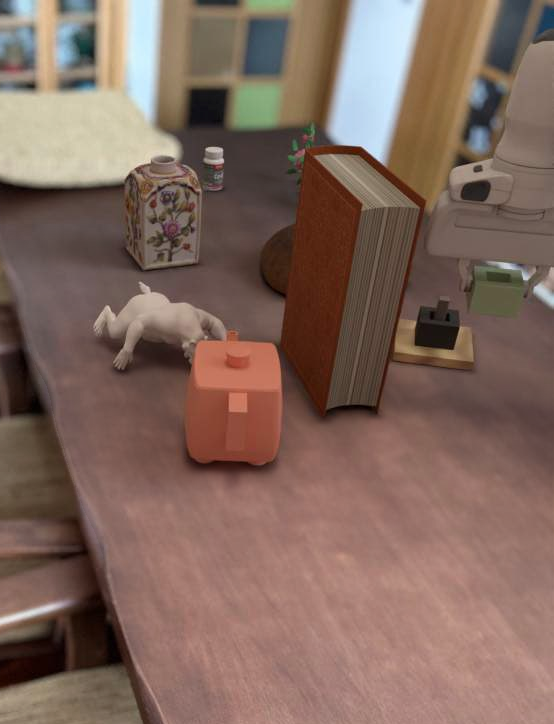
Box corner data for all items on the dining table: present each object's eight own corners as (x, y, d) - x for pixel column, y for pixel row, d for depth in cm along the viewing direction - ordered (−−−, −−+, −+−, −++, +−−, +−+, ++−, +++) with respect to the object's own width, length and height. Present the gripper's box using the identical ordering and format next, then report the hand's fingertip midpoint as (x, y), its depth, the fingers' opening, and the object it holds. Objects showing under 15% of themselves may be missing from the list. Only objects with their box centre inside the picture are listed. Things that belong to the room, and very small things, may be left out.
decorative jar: (179, 242, 165) (183, 146, 154) (200, 264, 157) (205, 165, 145) (122, 248, 163) (121, 152, 151) (141, 272, 154) (141, 171, 142)
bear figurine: (84, 378, 132) (173, 388, 118) (71, 291, 127) (163, 292, 113) (158, 355, 142) (248, 362, 129) (149, 274, 137) (242, 273, 123)
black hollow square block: (452, 333, 134) (458, 310, 131) (453, 350, 130) (460, 327, 127) (414, 328, 135) (420, 305, 132) (414, 345, 131) (420, 322, 128)
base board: (468, 335, 137) (482, 286, 131) (471, 370, 128) (486, 319, 122) (394, 326, 139) (405, 278, 133) (392, 360, 130) (404, 310, 124)
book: (377, 414, 118) (426, 200, 98) (322, 419, 117) (361, 203, 97) (325, 339, 135) (358, 144, 115) (277, 343, 134) (302, 146, 114)
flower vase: (320, 263, 177) (274, 175, 197) (375, 244, 176) (324, 157, 196) (315, 216, 167) (268, 129, 187) (374, 196, 166) (320, 110, 186)
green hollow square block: (512, 299, 110) (521, 270, 107) (516, 318, 105) (525, 289, 103) (465, 294, 111) (473, 265, 108) (467, 313, 106) (475, 284, 104)
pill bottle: (215, 192, 188) (218, 153, 182) (198, 188, 190) (200, 150, 184) (226, 187, 191) (228, 148, 185) (208, 183, 193) (210, 145, 187)
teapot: (185, 397, 121) (189, 306, 112) (271, 400, 121) (283, 310, 111) (181, 487, 104) (185, 390, 95) (281, 492, 104) (295, 395, 95)
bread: (337, 236, 168) (345, 193, 163) (440, 284, 151) (452, 237, 146) (227, 266, 157) (230, 220, 151) (324, 322, 140) (333, 272, 134)
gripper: (615, 181, 98) (575, 291, 107) (438, 167, 102) (414, 275, 111) (624, 199, 94) (582, 312, 103) (439, 184, 97) (414, 295, 106)
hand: (493, 293), depth 107 cm, fingers closed on green hollow square block, 6 cm apart
